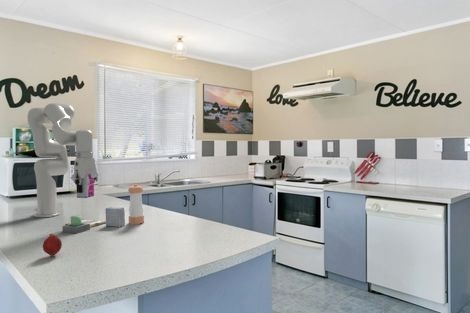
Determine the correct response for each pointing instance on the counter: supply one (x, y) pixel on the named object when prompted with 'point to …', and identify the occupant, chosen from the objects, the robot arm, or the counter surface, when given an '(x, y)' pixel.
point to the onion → (52, 245)
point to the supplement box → (87, 187)
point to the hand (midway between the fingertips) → (85, 191)
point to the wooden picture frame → (91, 222)
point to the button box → (75, 228)
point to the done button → (76, 221)
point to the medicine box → (115, 216)
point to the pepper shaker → (136, 205)
